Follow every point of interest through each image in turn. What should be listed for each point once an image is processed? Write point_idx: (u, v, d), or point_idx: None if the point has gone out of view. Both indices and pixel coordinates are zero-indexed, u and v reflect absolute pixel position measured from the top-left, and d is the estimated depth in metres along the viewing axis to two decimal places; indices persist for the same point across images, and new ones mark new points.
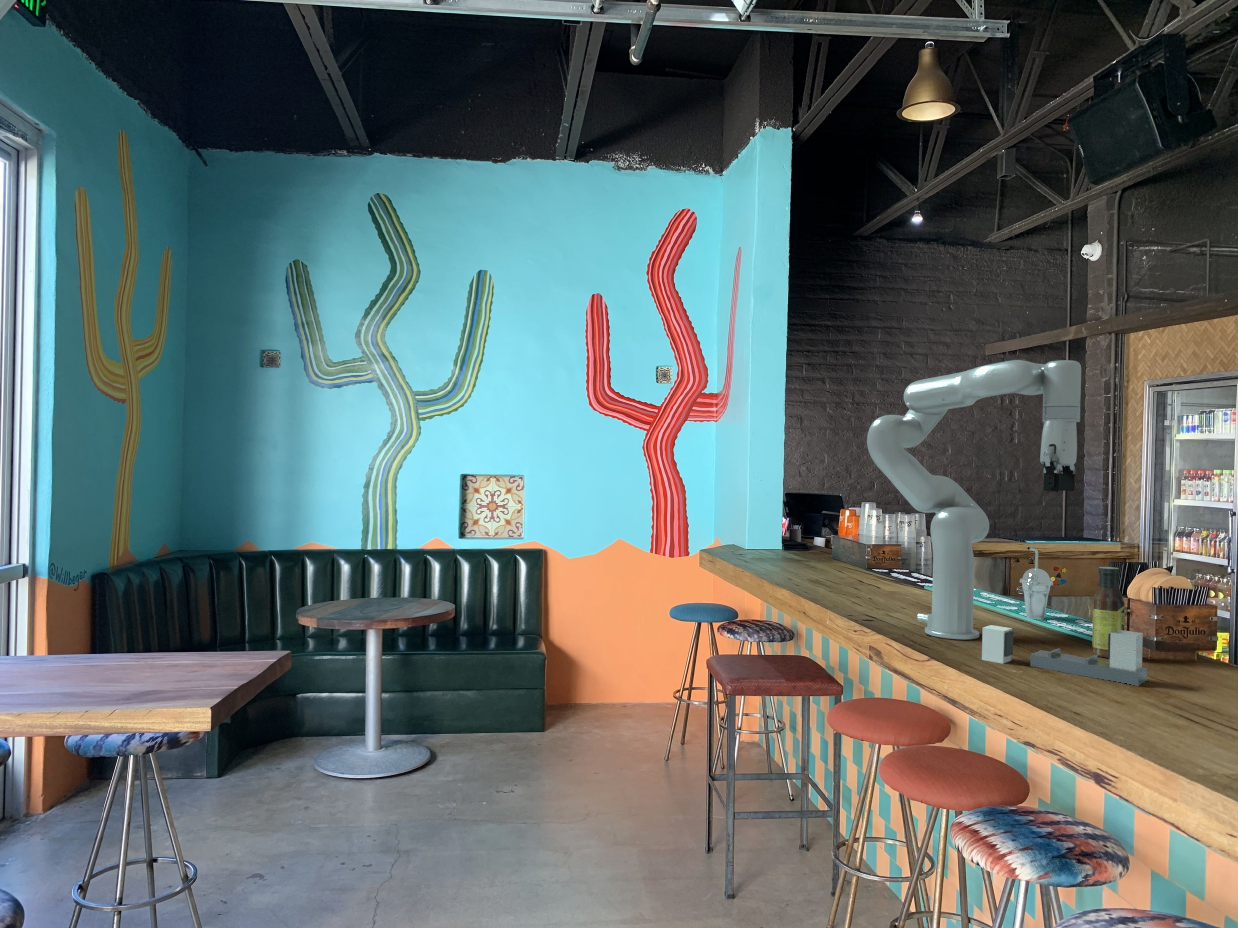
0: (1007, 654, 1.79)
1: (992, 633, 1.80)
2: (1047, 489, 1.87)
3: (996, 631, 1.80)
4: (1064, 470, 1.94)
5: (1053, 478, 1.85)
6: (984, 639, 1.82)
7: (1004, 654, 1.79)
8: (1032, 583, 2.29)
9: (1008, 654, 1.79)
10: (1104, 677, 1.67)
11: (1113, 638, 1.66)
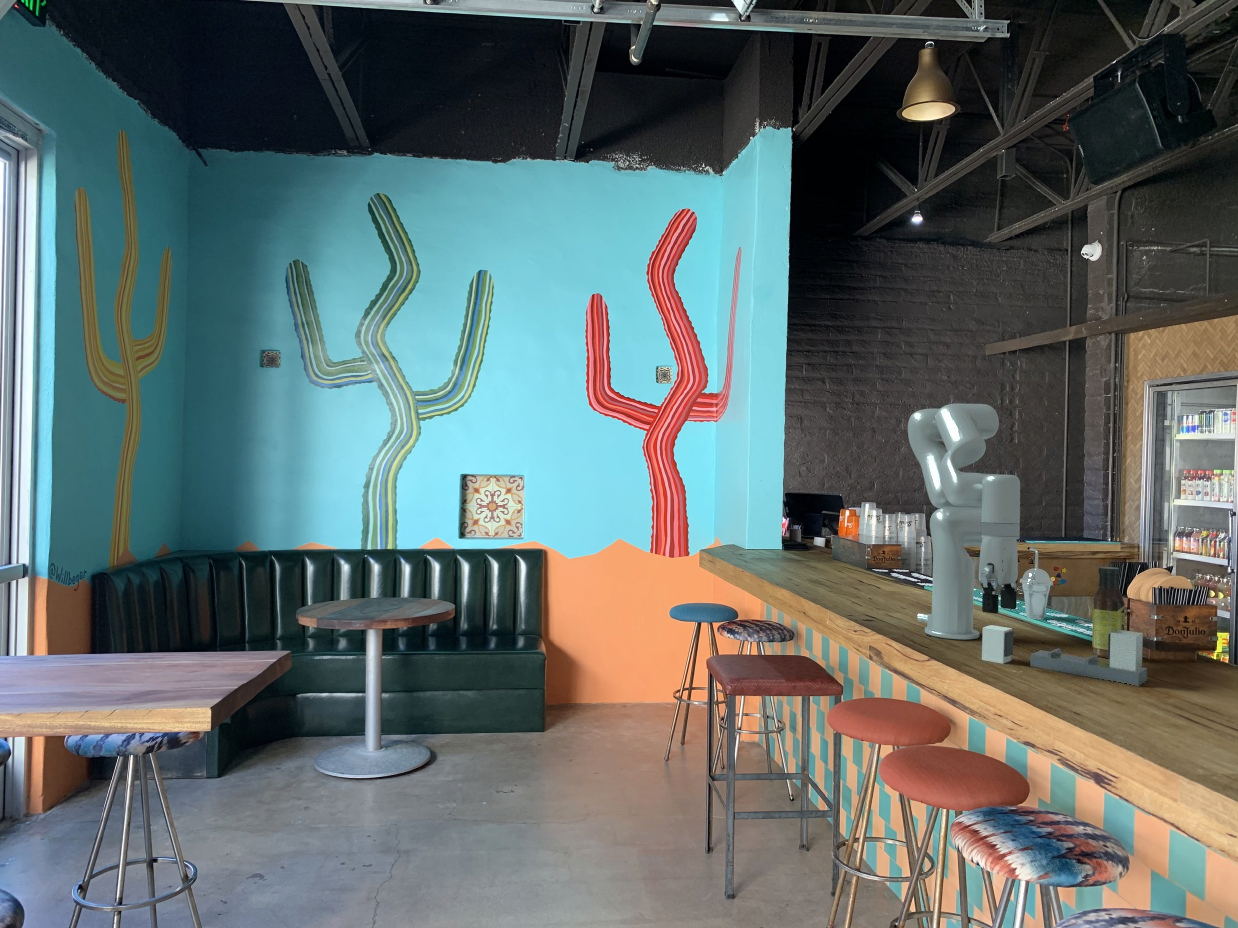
0: (1007, 654, 1.79)
1: (992, 633, 1.80)
2: (986, 610, 1.78)
3: (996, 631, 1.80)
4: (1005, 587, 1.85)
5: (992, 600, 1.77)
6: (984, 639, 1.82)
7: (1004, 654, 1.79)
8: (1032, 583, 2.29)
9: (1008, 654, 1.79)
10: (1104, 677, 1.67)
11: (1113, 638, 1.66)
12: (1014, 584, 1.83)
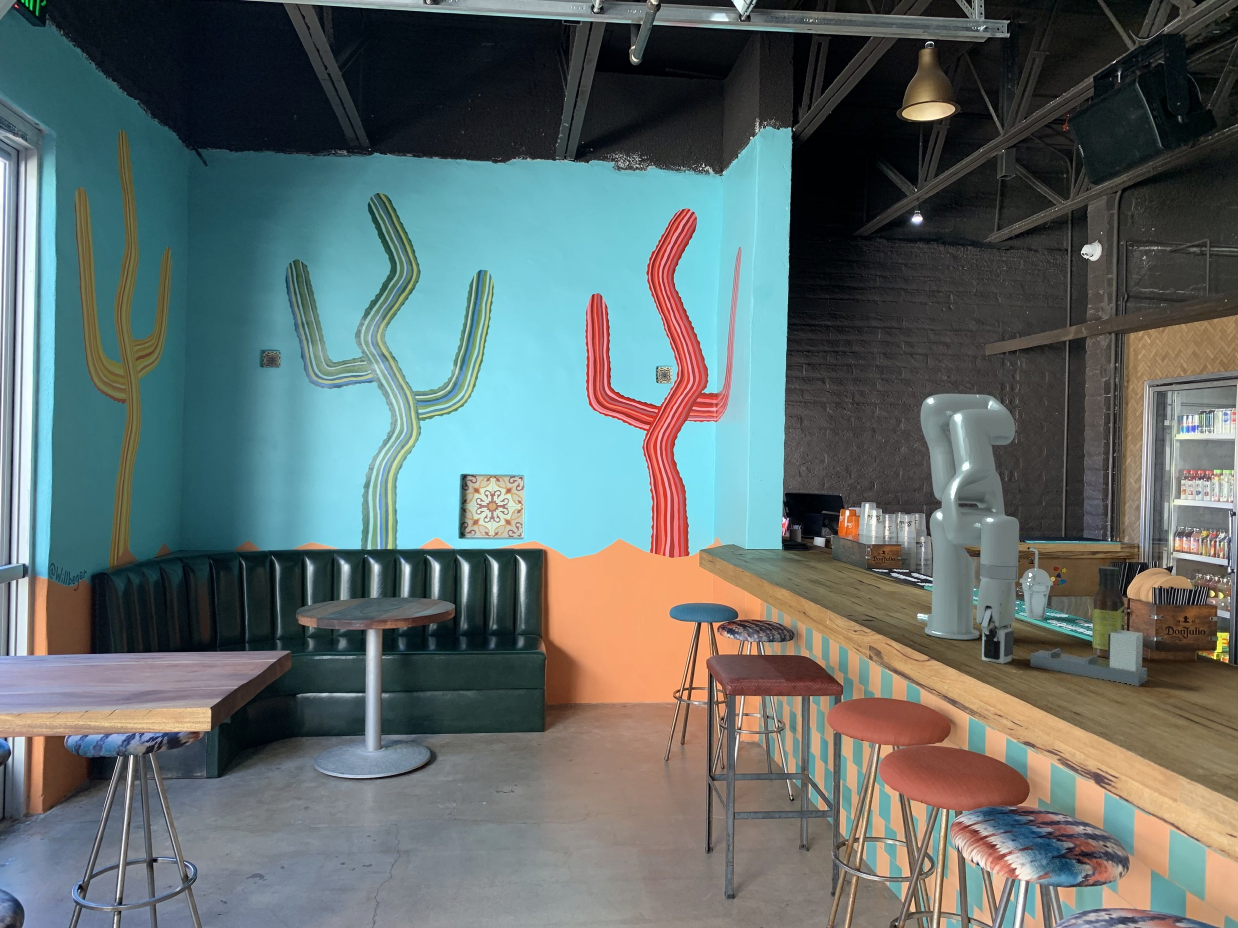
0: (1007, 654, 1.79)
1: None
2: (987, 656, 1.80)
3: None
4: None
5: (993, 646, 1.79)
6: None
7: (1004, 654, 1.79)
8: (1032, 583, 2.29)
9: (1008, 654, 1.79)
10: (1104, 677, 1.67)
11: (1113, 638, 1.66)
12: None
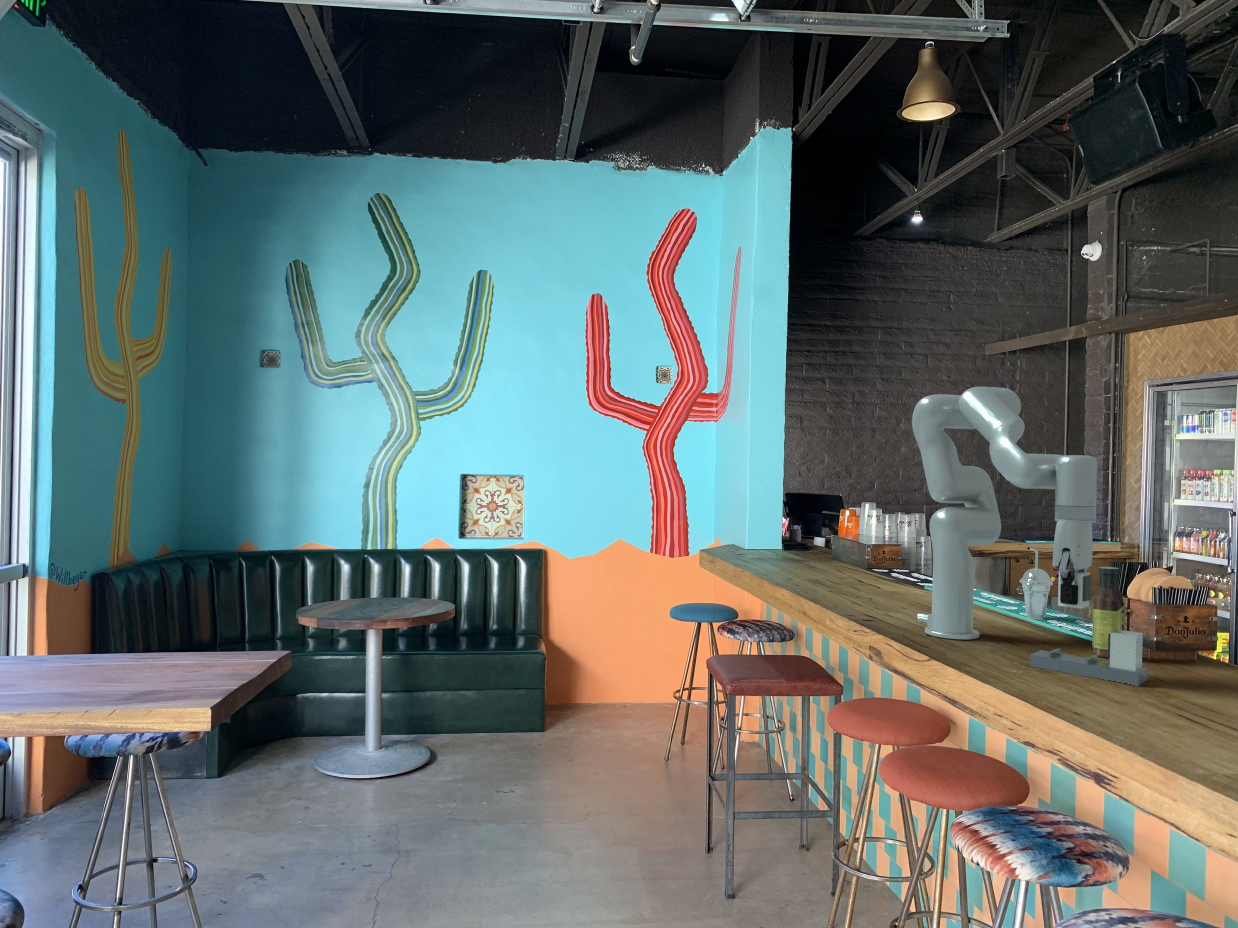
0: (1086, 599, 1.71)
1: None
2: (1064, 601, 1.72)
3: None
4: None
5: (1071, 591, 1.71)
6: (1060, 584, 1.73)
7: (1082, 599, 1.71)
8: (1032, 583, 2.29)
9: (1087, 599, 1.71)
10: (1104, 677, 1.67)
11: (1113, 638, 1.66)
12: None
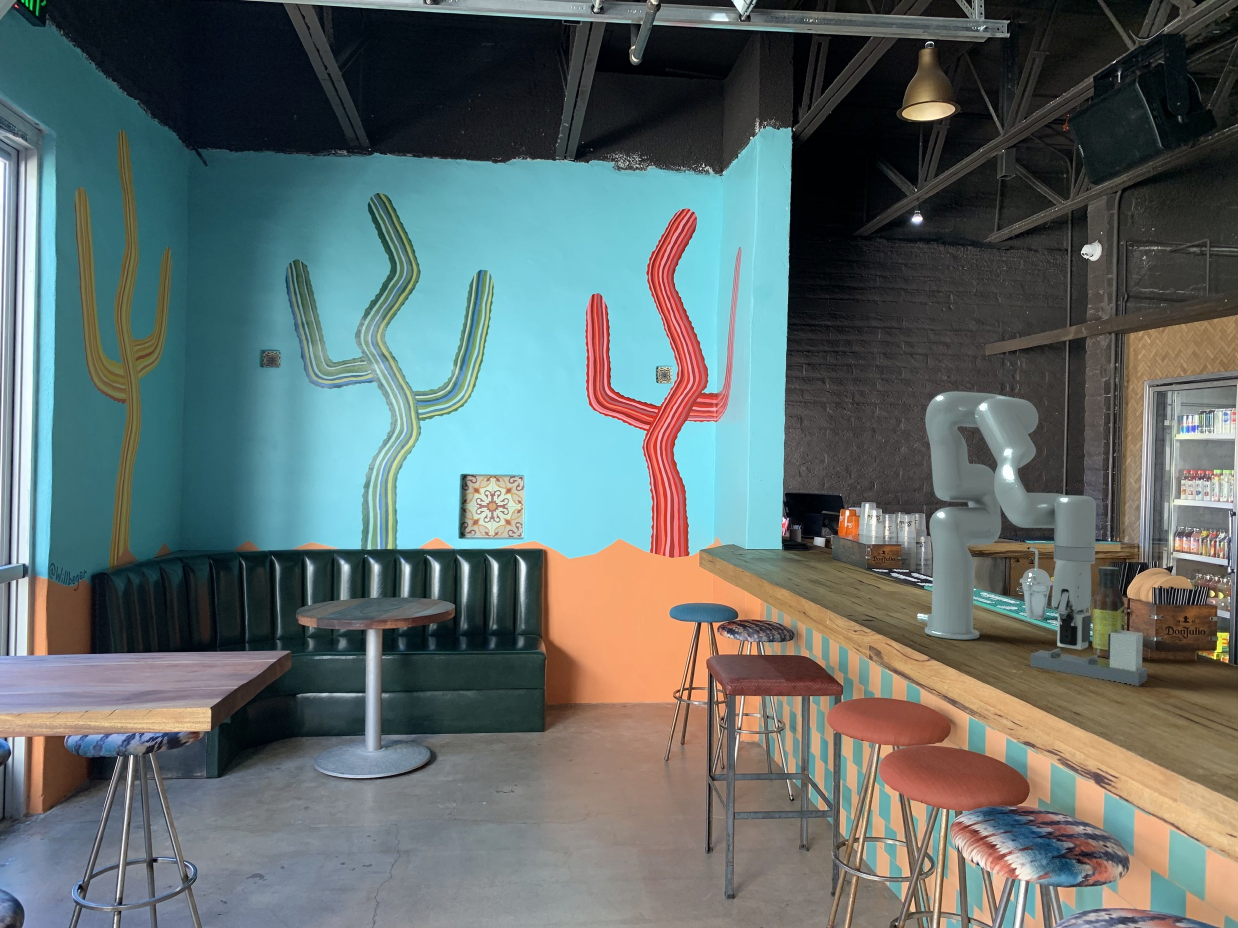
0: (1085, 640, 1.71)
1: None
2: (1063, 642, 1.72)
3: None
4: None
5: (1070, 632, 1.71)
6: (1059, 624, 1.74)
7: (1082, 640, 1.71)
8: (1032, 583, 2.29)
9: (1086, 640, 1.71)
10: (1104, 677, 1.67)
11: (1113, 638, 1.66)
12: None
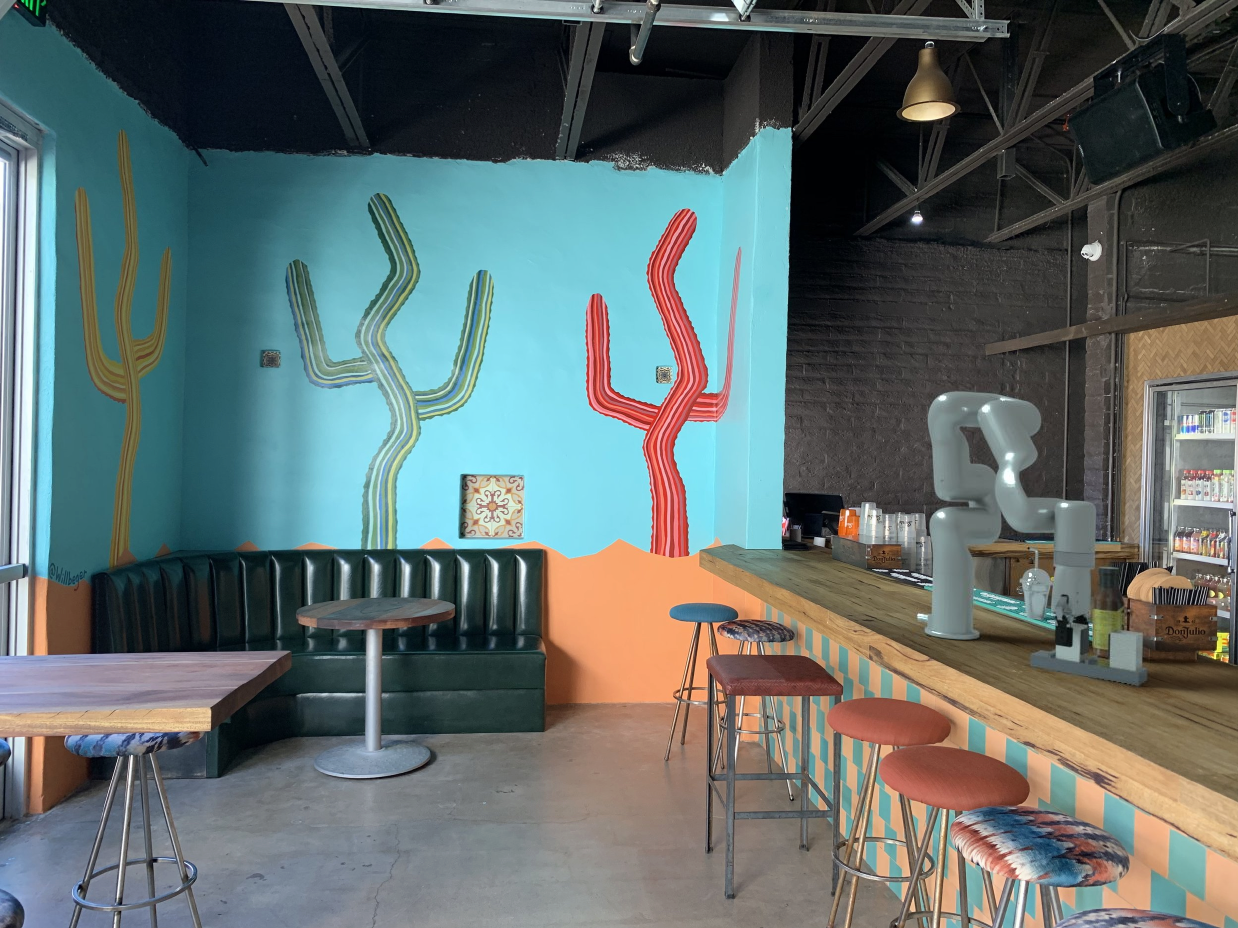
0: (1083, 652, 1.71)
1: None
2: (1059, 643, 1.71)
3: None
4: (1077, 617, 1.78)
5: (1066, 633, 1.69)
6: None
7: (1080, 652, 1.71)
8: (1032, 583, 2.29)
9: (1084, 652, 1.72)
10: (1104, 677, 1.67)
11: (1113, 638, 1.66)
12: (1086, 614, 1.76)
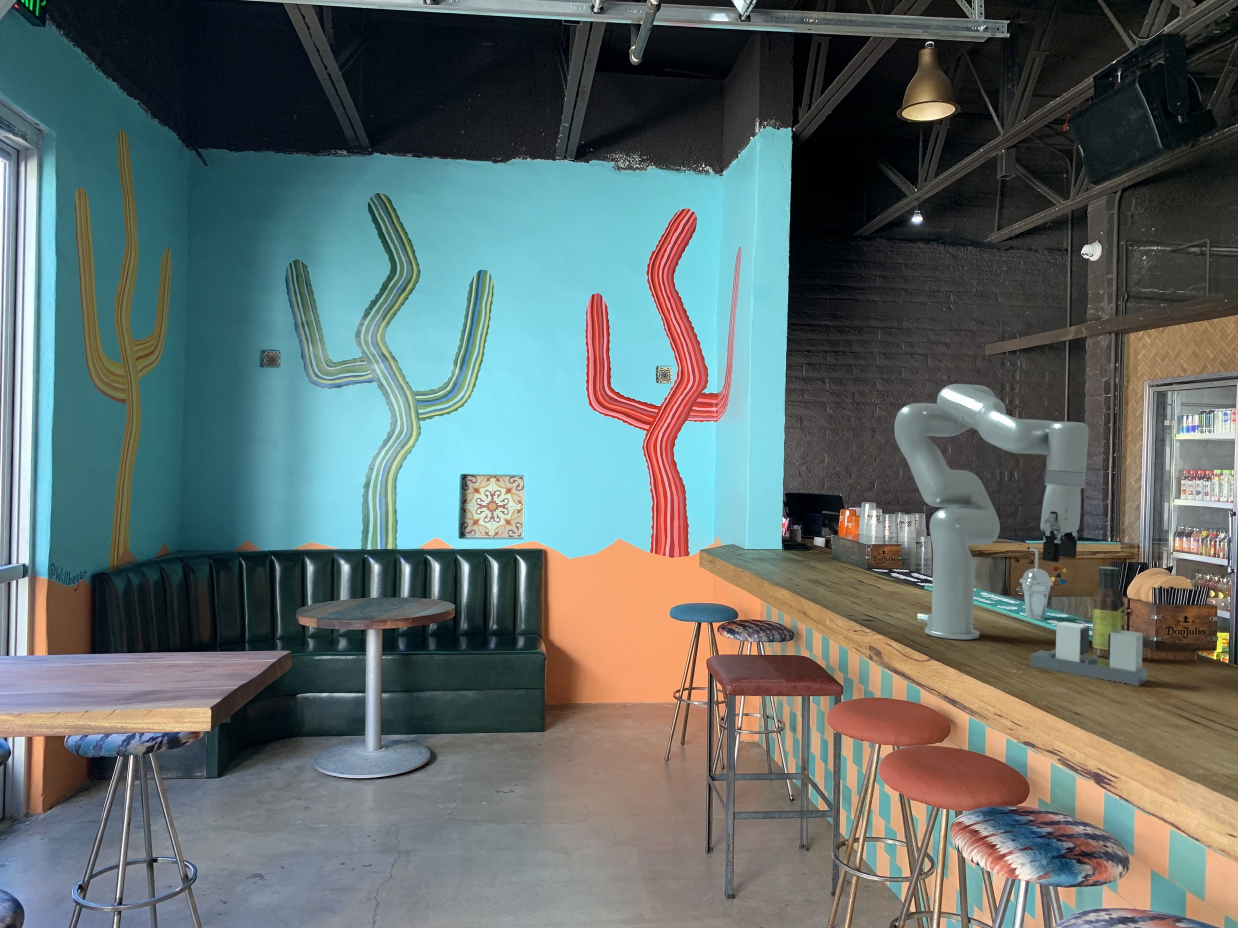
0: (1083, 652, 1.71)
1: (1067, 630, 1.73)
2: (1046, 559, 1.77)
3: (1071, 628, 1.72)
4: (1066, 535, 1.83)
5: (1053, 548, 1.75)
6: (1058, 636, 1.74)
7: (1080, 652, 1.71)
8: (1032, 583, 2.29)
9: (1084, 652, 1.72)
10: (1104, 677, 1.67)
11: (1113, 638, 1.66)
12: (1075, 533, 1.81)
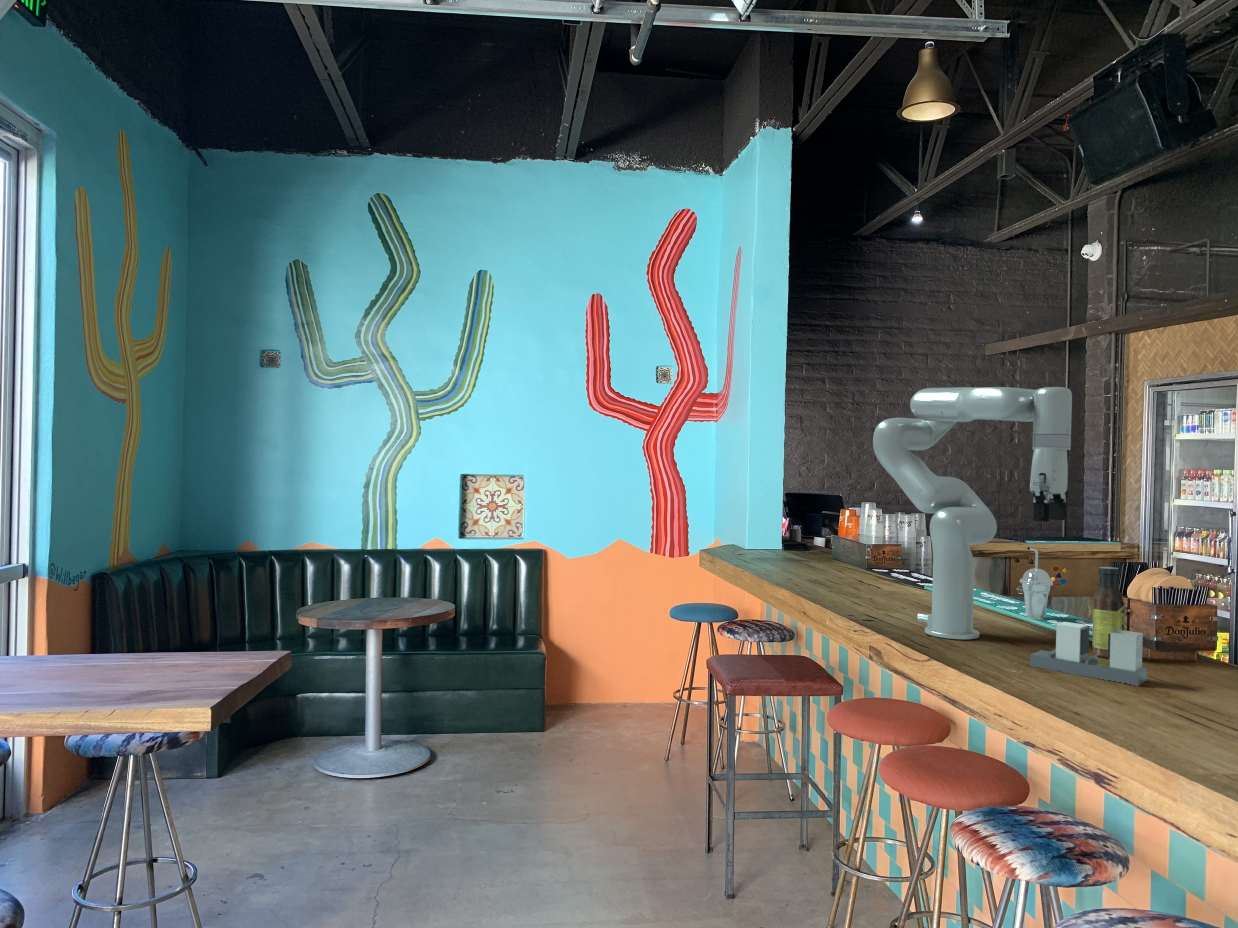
0: (1083, 652, 1.71)
1: (1067, 630, 1.73)
2: (1037, 519, 1.83)
3: (1071, 628, 1.72)
4: (1055, 498, 1.89)
5: (1043, 508, 1.81)
6: (1058, 636, 1.74)
7: (1080, 652, 1.71)
8: (1032, 583, 2.29)
9: (1084, 652, 1.72)
10: (1104, 677, 1.67)
11: (1113, 638, 1.66)
12: (1063, 495, 1.88)
